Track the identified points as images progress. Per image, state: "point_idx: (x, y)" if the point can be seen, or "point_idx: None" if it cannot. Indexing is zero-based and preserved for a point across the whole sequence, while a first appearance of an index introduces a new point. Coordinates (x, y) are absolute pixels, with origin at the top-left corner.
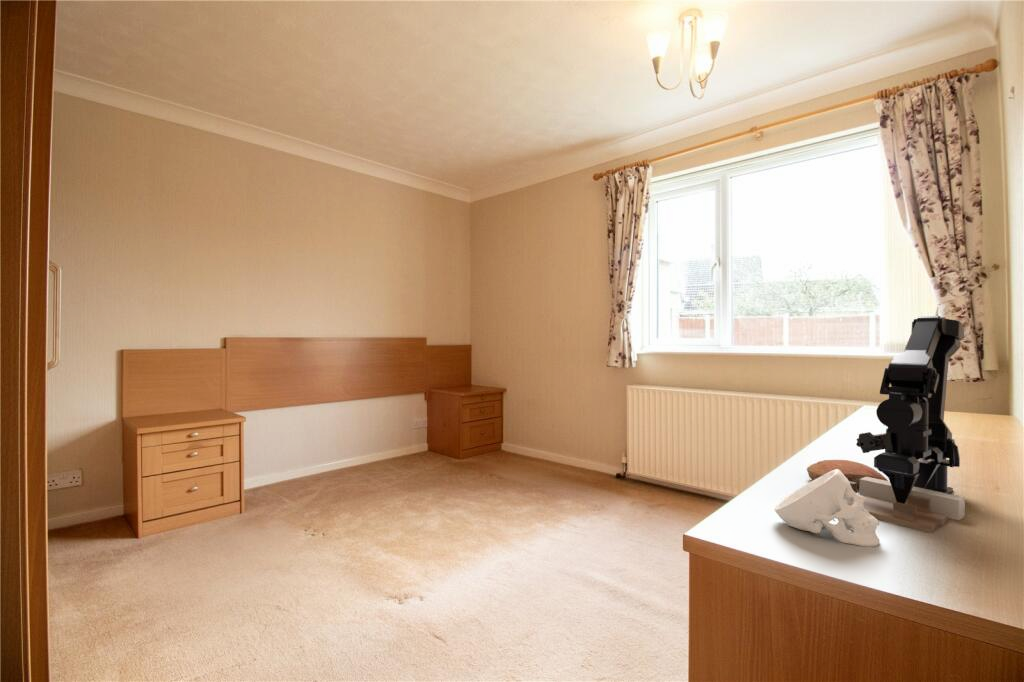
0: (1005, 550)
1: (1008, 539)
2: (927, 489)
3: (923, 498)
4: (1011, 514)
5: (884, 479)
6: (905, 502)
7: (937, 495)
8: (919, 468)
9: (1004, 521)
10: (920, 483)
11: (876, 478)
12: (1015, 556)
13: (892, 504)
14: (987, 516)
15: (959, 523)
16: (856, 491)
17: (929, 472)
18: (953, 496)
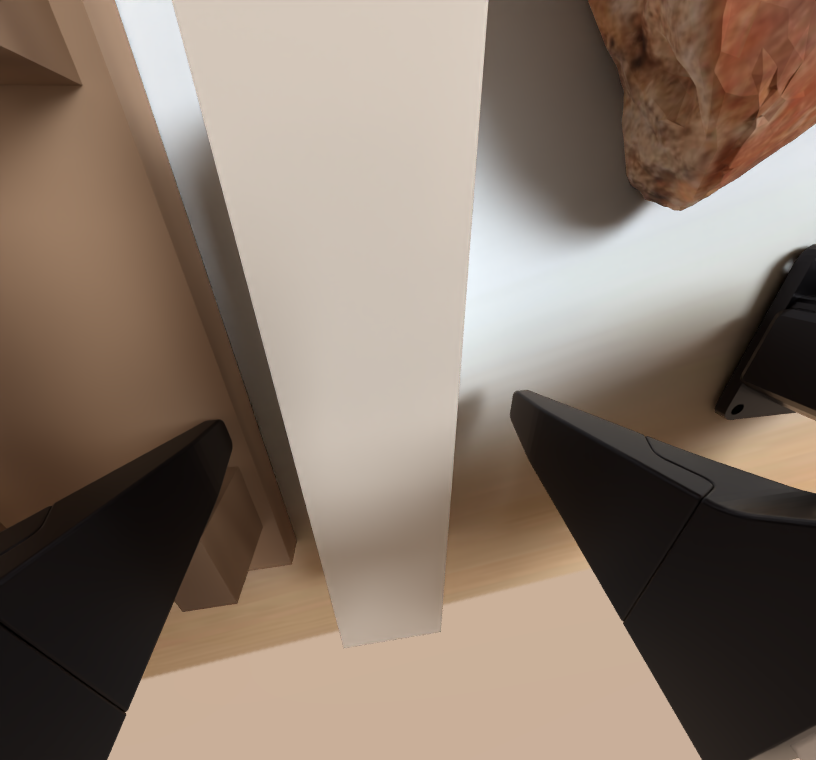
0: (170, 662)
1: (286, 636)
2: (444, 537)
3: (197, 593)
4: (576, 567)
5: (732, 141)
6: (224, 463)
7: (340, 600)
8: (699, 614)
9: (473, 584)
10: (563, 482)
11: (702, 56)
12: (149, 677)
13: (170, 403)
14: (492, 556)
15: (307, 559)
16: (38, 66)
17: (637, 631)
18: (404, 619)
